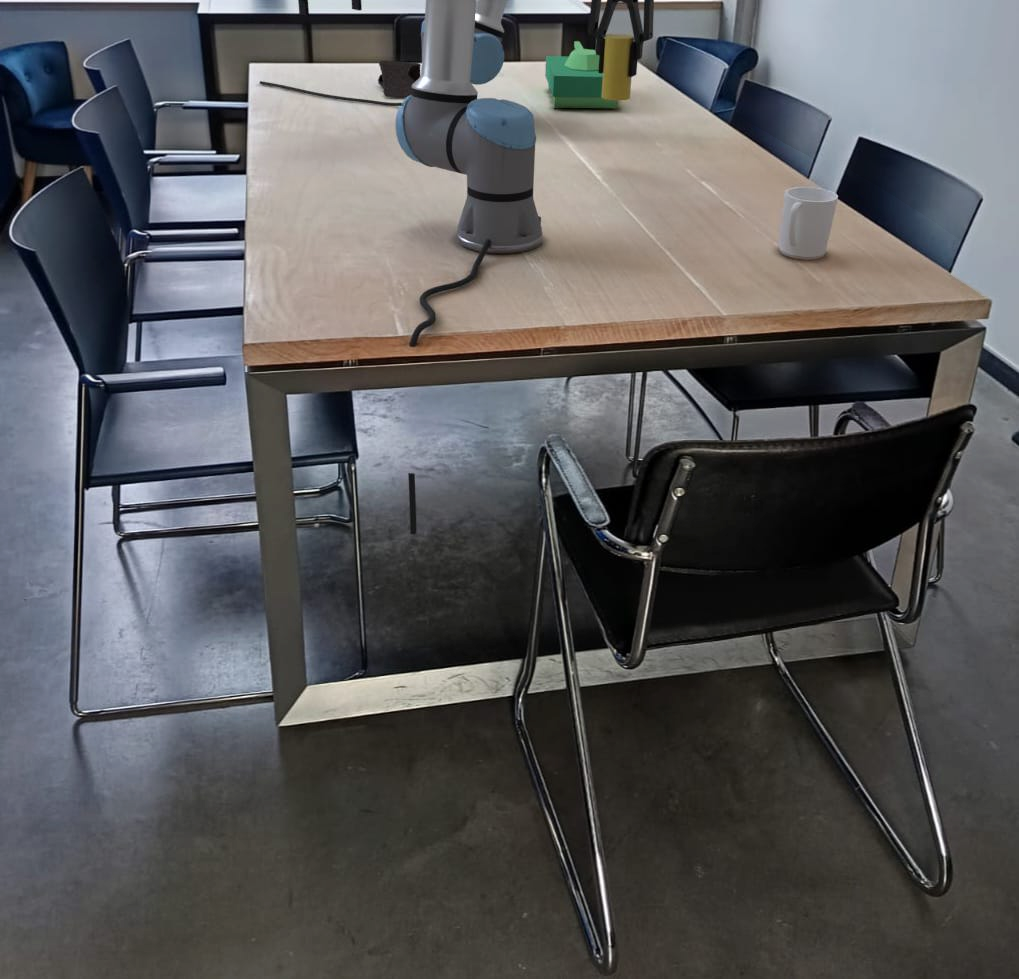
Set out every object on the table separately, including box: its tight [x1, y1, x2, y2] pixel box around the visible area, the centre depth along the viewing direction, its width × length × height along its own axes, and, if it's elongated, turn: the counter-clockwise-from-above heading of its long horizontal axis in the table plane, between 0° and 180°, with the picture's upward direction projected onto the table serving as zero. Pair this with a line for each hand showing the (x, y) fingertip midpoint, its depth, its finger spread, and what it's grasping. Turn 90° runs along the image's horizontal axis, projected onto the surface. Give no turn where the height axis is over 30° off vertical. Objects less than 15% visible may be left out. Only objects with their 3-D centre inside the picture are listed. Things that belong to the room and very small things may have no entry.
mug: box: [778, 186, 839, 261], centre depth 190 cm, size 11×9×10 cm
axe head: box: [377, 59, 422, 99], centre depth 299 cm, size 18×8×15 cm
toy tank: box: [544, 40, 619, 109], centre depth 295 cm, size 18×12×35 cm
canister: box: [601, 33, 635, 101], centre depth 228 cm, size 6×6×12 cm
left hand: (330, 12), depth 239 cm, fingers open, 13 cm apart
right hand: (617, 73), depth 229 cm, fingers closed on canister, 6 cm apart
